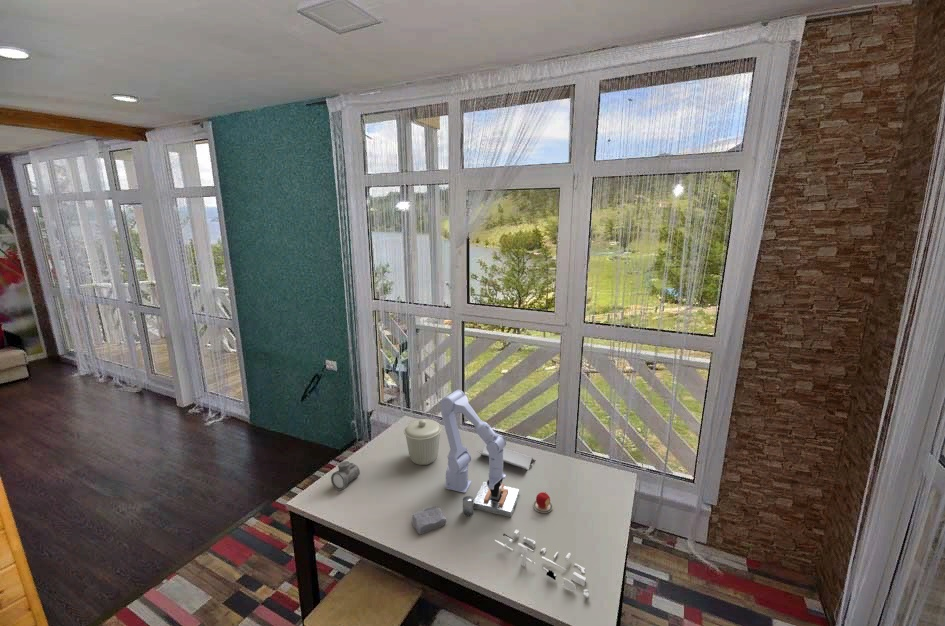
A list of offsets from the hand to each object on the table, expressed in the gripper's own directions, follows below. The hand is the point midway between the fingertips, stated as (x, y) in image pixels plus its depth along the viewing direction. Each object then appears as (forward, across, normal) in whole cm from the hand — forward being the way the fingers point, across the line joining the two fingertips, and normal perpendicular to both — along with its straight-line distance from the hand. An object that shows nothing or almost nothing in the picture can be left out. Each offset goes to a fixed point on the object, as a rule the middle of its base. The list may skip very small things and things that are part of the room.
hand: (495, 493), depth 169 cm
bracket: (+2, +2, 0) cm, 3 cm away
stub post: (+5, -9, +9) cm, 14 cm away
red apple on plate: (+5, +4, -19) cm, 20 cm away
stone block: (+5, -19, +22) cm, 30 cm away
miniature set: (+5, -22, -24) cm, 33 cm away
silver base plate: (+5, +1, 0) cm, 5 cm away
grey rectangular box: (+3, 0, 0) cm, 3 cm away
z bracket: (+5, +30, +4) cm, 31 cm away
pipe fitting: (+5, -9, +67) cm, 68 cm away
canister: (+5, +18, +42) cm, 46 cm away
